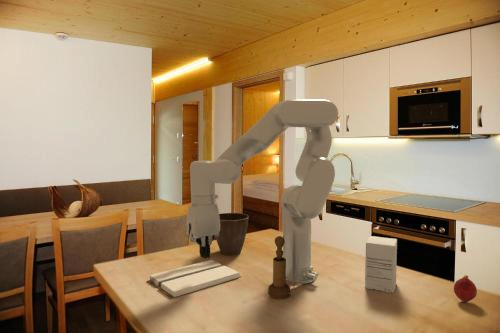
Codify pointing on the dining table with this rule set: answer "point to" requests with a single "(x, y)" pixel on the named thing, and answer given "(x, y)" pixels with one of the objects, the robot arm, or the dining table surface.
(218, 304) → the dining table surface
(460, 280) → the onion
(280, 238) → the mortar and pestle
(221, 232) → the plant pot
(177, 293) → the pale plank
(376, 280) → the supplement box
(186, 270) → the white grooved board
